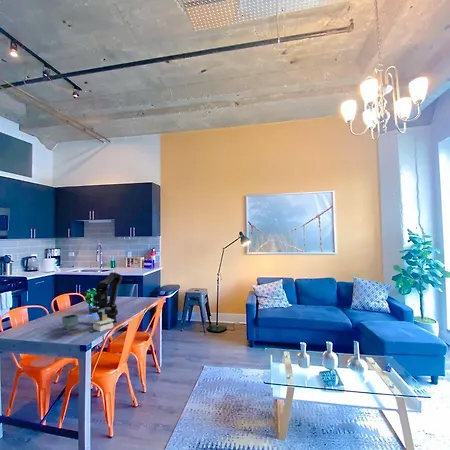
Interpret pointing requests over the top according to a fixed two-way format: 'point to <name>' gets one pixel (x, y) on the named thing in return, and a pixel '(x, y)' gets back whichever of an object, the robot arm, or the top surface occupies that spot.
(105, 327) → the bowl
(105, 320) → the lid
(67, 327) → the flower pot
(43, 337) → the top surface
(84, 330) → the mat
